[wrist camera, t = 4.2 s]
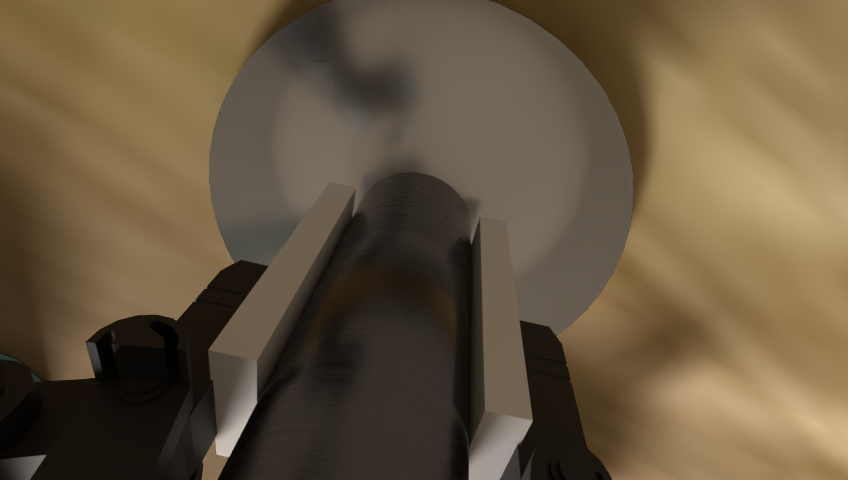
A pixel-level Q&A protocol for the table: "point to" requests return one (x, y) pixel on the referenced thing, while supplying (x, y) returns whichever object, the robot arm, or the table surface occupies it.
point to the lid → (410, 217)
